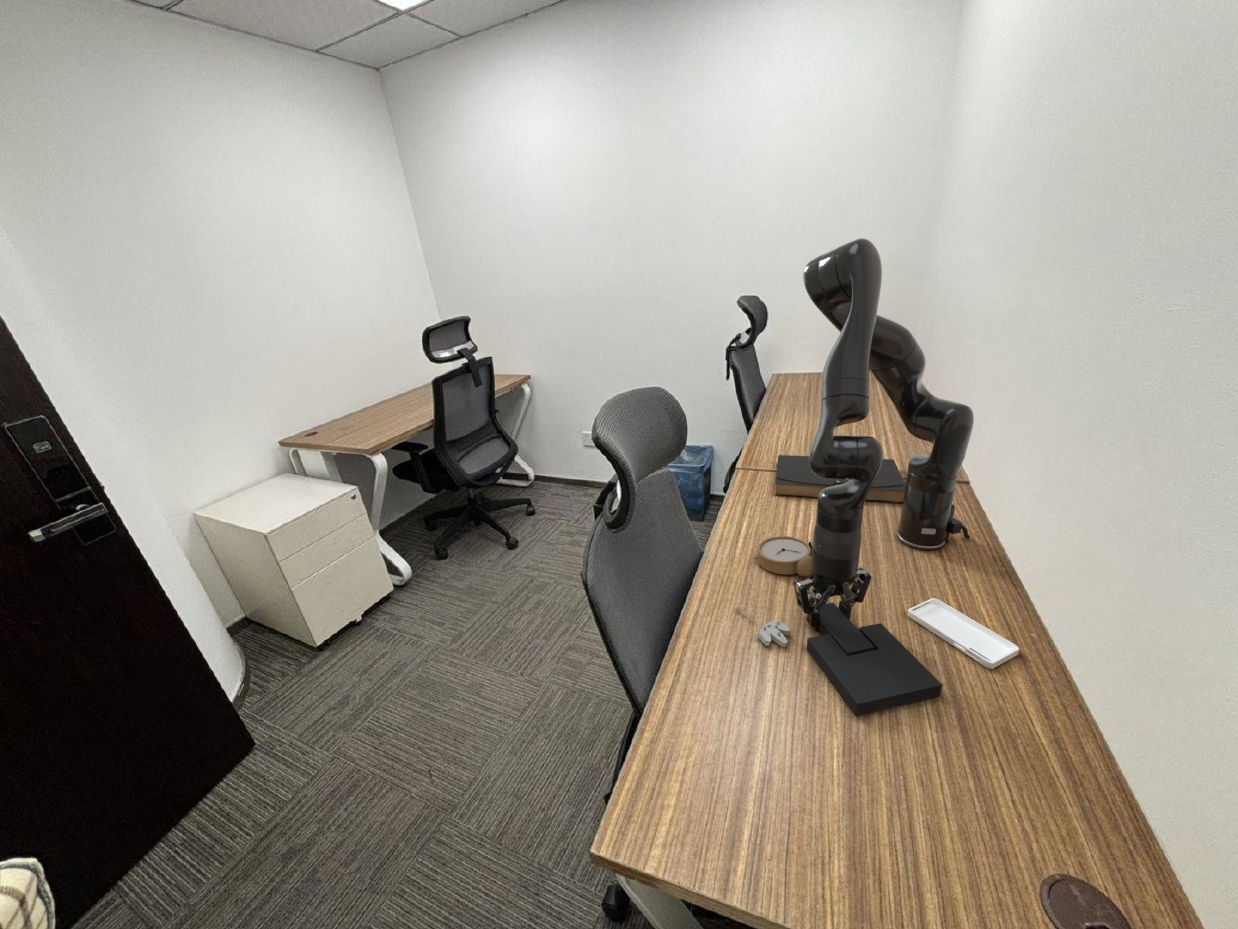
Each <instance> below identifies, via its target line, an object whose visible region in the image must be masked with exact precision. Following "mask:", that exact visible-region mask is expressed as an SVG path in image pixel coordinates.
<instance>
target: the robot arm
mask: <svg viewBox="0 0 1238 929" xmlns="http://www.w3.org/2000/svg"><path fill="white" fill-rule="evenodd" d="M802 280H803V285H804V288H805V291H806V293H807V295H808V297H809V299H810V300H811V301H812V303H813V304H814V306H815V307H816V308H817V309H818V310H819V312H820V313H821V314H822V315H823V316H824V317H825V318H826V319H827V320H828V321H829V322H830V323H831V324H832V325H833V326H834V327H835V329H837V331H838V332H839V335H838V337H837V339H836V340H835V343H834V344H833V345H832V348H831V350H830V352H829V354H828V356H827V358H826V360H825V364H824V366H823V369H822V374H821V408H820V418H819V422H818V427H817V430H816V433H815V436H814V439H813V442H812V445H811V448H810V451H809V454H808V456H809V466H810V469H811V470H812V472H813V473H814V475H816V476H817V477H819V478H823V479H848V480H849V481H848V482H846V483H844V484H841V485H836V486H831V487H827V488H825V489H823V490H821V492H820V493H819V495H818V498H817V502H816V503H817V505H816V517H815V524H814V527H813V531H812V532H813V535H812V542H813V544H812V557H811V568H812V572H811V574H810V575H809V576H808V578H807V579H805V580H802V581H801V580H800V579H795V580H794V581H793V588H794V593H795V600H796V604H797V606H798V607H799V608H800V609H801V610H802V612H803V613H804V614H806V622H807V623H808V625H809V626H810V628H812V629H813V630H818V629H819V619H820V613H819V611H820V609H821V607H822V606H823V605H825V604H827V603H828V602H829V599H830V598H833V597H839V598H840V600H839V601H838V608H839V609H840V610H841V611H842V613H843V614H844V615H845V616H846V617H847V618H848V619H849V620H851V618H852V611H853V607H855V604H856V603H859V604H861V603H863V602H864V600H865V597H866V595H867V592H868V588H869V586H870V583H871V580H872V575H871V574H870V573H869V572H868V571H867V570H865V568H863V567H859V562H860V561H859V560H860V554H861V547H862V546H861V544H862V524H863V514H864V507H865V503H866V501H865V500H866V498H867V495H868V493H869V490H870V488H871V486H872V484H873V482H874V481H875V479H876V477H877V475H878V473H879V470H880V468H881V465H882V461H883V459H884V450H883V447H882V445H881V443H880V442H879V441H878V439H876V438H875V437H873V436H871V435H837V434H836V435H835V434H834V432H835V430H836V429H837V428H838V427H841V426H845V425H848V424H854V423H859V422H862V421H863V420H865V419H867V417H868V416H869V412H870V375H871V376H872V377H873V378H874V380H875V381H876V382H877V383H878V385H879V386H880V387H881V389H882V390H883V391H884V393H885V394H886V396H887V397H888V398H889V400H890V401H891V403H892V404H893V406H894V407H895V409H896V411H897V413H898V415H899V417H900V419H901V421H902V423H903V425H904V427H905V428H906V430H907V432H908V433H909V434H910V435H912V436H913V437H915V438H917V439H919V440H921V441H925V442H928V443H931V444H933V445H932V449H931V451H930V452H921V453H916V454H914V455H912V456H911V457H910V458H909V461H908V464H907V472H906V478H905V491H904V498H903V503H901V511H900V519H899V524H898V530H897V535H896V536H897V539H898V540H899V541H900V542H901V543H902V544H904V545H905V546H907V547H910V548H913V549H917V550H923V551H935V550H936V551H937V550H939V549H942V548H943V547H944V546H945V544H948V543H949V540H950V535H955V534H961V531H962V533H963V534H962V535H963V537H964V538H965V539H966V540H970V539H971V536H970V534H969V531H968V528H967V527H966V526H965V525H964V524H963V522H962V521H960V520H958V519H956V518H955V517H954V514H955V511H956V506H955V504H954V503H953V500H954V496H955V490H956V485H957V481H958V475H959V471H960V469H961V467H962V465H963V463H964V460H965V458H966V455H967V450H968V446H969V443H970V439H971V435H972V432H973V429H974V422H975V416H974V411H973V409H972V408H971V407H970V406H968V405H967V404H964V403H961V402H956V401H953V400H948V399H944V398H940V397H937V396H935V395H933V394H932V393H931V391H929V390H928V389H927V387H926V386H925V384H924V382H923V380H922V379H923V377H924V373H925V370H926V366H927V365H926V363H927V362H926V356H925V353H924V351H923V349H922V347H921V346H920V345H919V343H918V342H917V340H916V338H915V336H914V335H913V334H912V332H911V331H910V330H909V329H908V328H907V327H906V326H904V325H902V324H900V323H899V322H897V321H894V320H892V319H891V318H887V317H886V316H882V315H880V314H878V309H879V303H880V298H881V297H880V296H881V289H882V283H883V264H882V259H881V256H880V252H879V250H878V248H877V247H876V246H875V244H874V243H873V242H872V241H871V240H870V239H867V238H862V237H861V238H857V239H853V240H851V241H849V242H846V243H845V244H842V245H840V246H838V247H836V248H835V247H834V249H830V250H828V251H827V252H824V253H823V254H820V255H818V256H816V257H814V258H813V259H811V260H810V261H809V262H807V263H806V264H805V267H804V268H803V271H802Z"/></svg>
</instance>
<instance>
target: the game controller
mask: <svg viewBox="0 0 1238 929" xmlns="http://www.w3.org/2000/svg"><path fill="white" fill-rule="evenodd" d="M739 611H740V612H742V613H743V614H744V616H745V617H746V618H748V619H749V620H751V618H750V617H748V616H747V615H746V613H745V612H744V611H742V610H741V609H739ZM752 620H755V621H757V622H758V623H759V624H761V622H760V621H759V620H758V619H756V618H754V617H753V618H752ZM789 633H790V627H789V626H788V625H786V624H785V623H784V622H783V621H781V620H772V621H768V622H767V623H766V624H764V625H762V626H761V627H760V629H759V633H758V638H759V640H760V641H761V642H762V643H763V644H764V646H767V647H769V646H770V645H771V642H772V641H773V642H774V643H776V645H779V646H780V648H781V647H782V648H786V647H787V643H788V640H787V638H786V636H788V635H789Z"/></svg>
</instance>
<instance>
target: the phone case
mask: <svg viewBox="0 0 1238 929" xmlns="http://www.w3.org/2000/svg"><path fill="white" fill-rule="evenodd" d="M907 617H909V619H911V620H912V621H915V623H917V624H919V625H921V626H922V627H923V628H925V629H926V630H928V631H930V632H931V633H933V634H934V635H936V636H937V637H939V638H941V639H942V640H943V641H945V642H946V643H948V644H949V645H951V646H953V647H954V648H955V649H957V650H958V651H960V652H962V653H963V654H965V655H966V656H968V657H970V658H971V659H972V660H974V661H975V662H977V663H978V664H980V665H982V666H983V667H985V668H987V669H989V670H993V669H995V668H996V667H999V666H1000V665H1002V664H1004V663H1006V662H1007V661H1010V660H1011V659H1013V658H1015V657H1016V656H1018V655H1019V652H1020V646H1017V644H1015V643H1013V642H1011V641H1010V640H1008V639H1007V638H1005V637H1004V636H1001V635H1000V634H998V633H996V632H995V631H993V630H991V629H990V628H988V627H986V626H984V625H983V624H981V623H979V622H977V621H976V620H974V619H972V618H971V617H969V616H968V615H965V614H964V613H962V612H961V611H959V610H957V609H955V608H954V607H952V606H950V605H948V604H947V603H945V602H944V601H941V600H940V599H938V598H935V597H931V598H929V599H927V600H925V601H923V602H920V603H919V604H916V605H914V606H912V607H909V608H908V610H907Z"/></svg>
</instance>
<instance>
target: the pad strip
mask: <svg viewBox="0 0 1238 929" xmlns="http://www.w3.org/2000/svg"><path fill="white" fill-rule="evenodd" d="M819 613H820V619H819V629H817V630H818V632H819V633H820V634H821V635H826V634H830V636H831V637H832V638H833V639H834V640H835V642H836V643H837V644H838V645H839V646H840V648H841V649H842V650H843V651H844V652H845V654H846V655H847V656H850V655H854V654H859V653H864V652H868V651H873V650H874V646H873V645H872V644H871V643H870V642H869V641H868V640H867V639H866V638H865V636H864V635H863V634H862V633H861V632H860V631H859V628H858V627H856V626H855V624H854V623H853V622H852V621H851V619H848V618H847V617H846V616H845V615H844V614H843V613H842V611H841V610H840V609H839V606H837V605H836V604H835V603H834V602H827V603H826V604H825V605H823V606H822V607H821V609H820V611H819Z"/></svg>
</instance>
